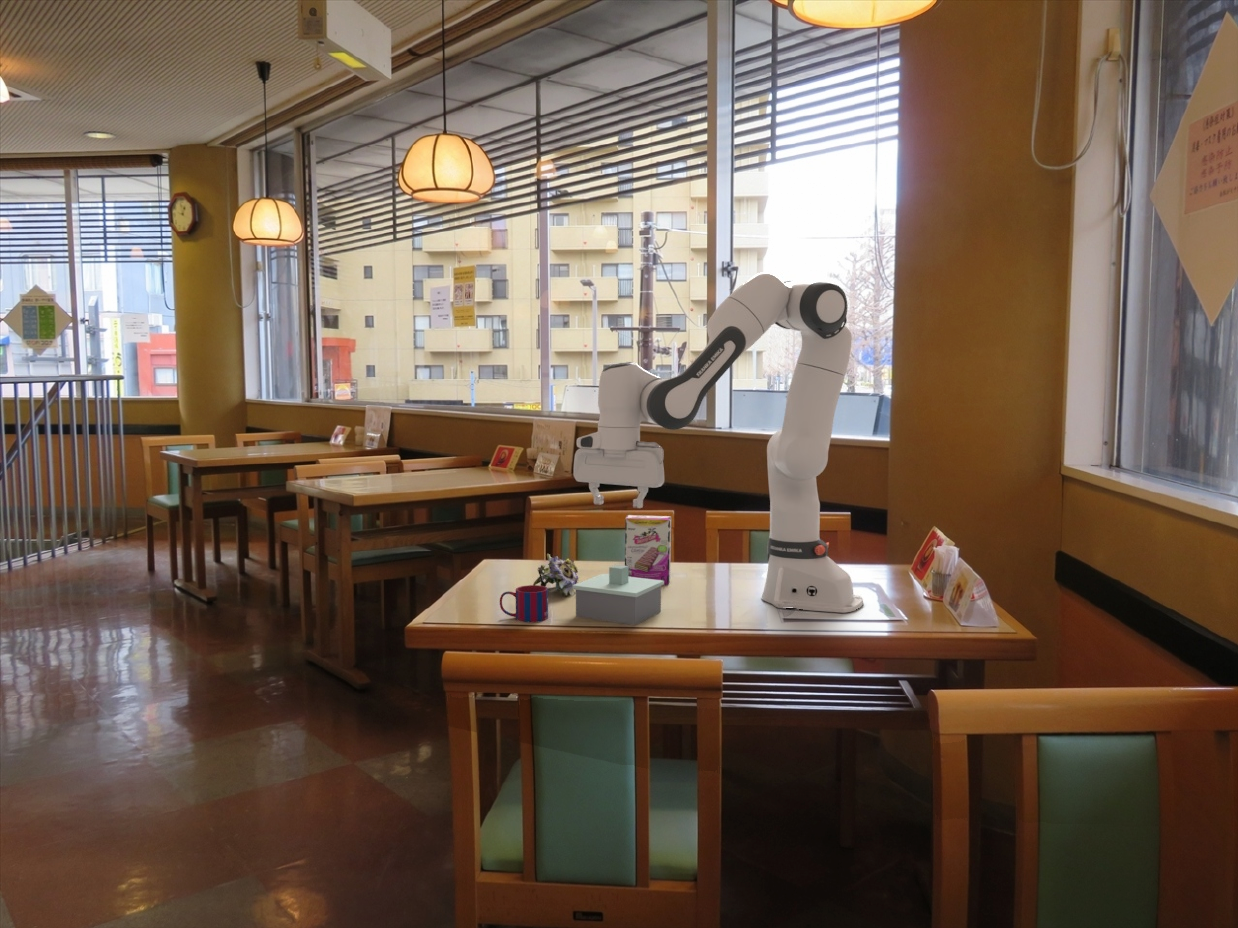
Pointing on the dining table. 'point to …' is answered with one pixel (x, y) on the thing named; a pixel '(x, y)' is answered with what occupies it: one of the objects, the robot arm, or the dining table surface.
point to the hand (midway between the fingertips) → (618, 505)
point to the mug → (529, 603)
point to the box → (618, 606)
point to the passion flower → (559, 575)
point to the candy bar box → (648, 547)
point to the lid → (618, 583)
